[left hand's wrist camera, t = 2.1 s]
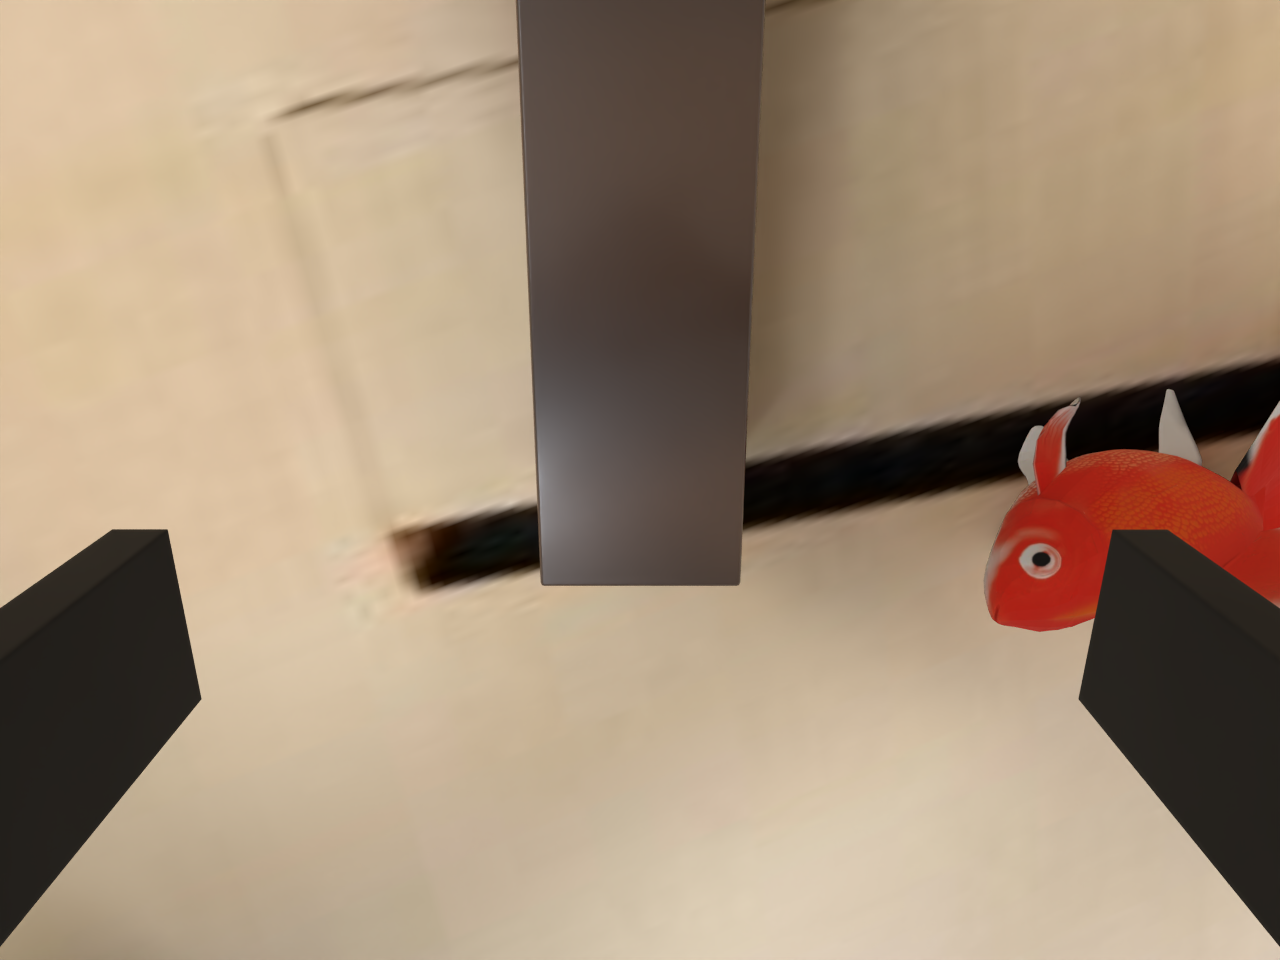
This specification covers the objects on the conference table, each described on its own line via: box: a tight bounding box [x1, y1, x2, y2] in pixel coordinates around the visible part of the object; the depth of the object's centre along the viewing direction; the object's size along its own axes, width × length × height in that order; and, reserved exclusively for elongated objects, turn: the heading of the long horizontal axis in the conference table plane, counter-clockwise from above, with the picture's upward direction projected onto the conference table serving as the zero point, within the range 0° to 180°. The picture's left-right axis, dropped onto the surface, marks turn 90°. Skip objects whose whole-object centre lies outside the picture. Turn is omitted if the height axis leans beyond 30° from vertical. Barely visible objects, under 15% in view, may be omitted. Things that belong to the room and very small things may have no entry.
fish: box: [984, 389, 1280, 632], centre depth 25 cm, size 11×16×10 cm
